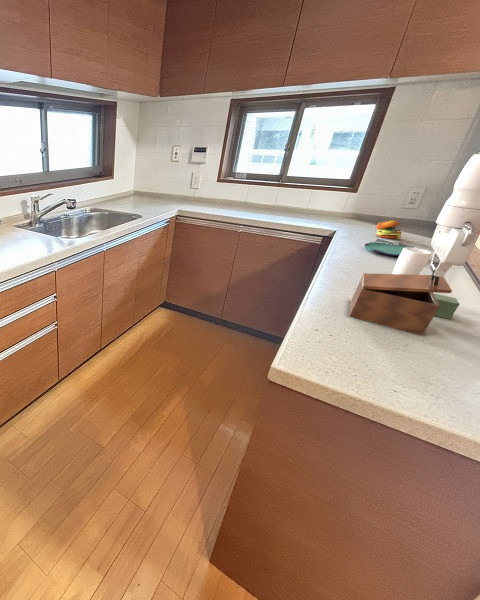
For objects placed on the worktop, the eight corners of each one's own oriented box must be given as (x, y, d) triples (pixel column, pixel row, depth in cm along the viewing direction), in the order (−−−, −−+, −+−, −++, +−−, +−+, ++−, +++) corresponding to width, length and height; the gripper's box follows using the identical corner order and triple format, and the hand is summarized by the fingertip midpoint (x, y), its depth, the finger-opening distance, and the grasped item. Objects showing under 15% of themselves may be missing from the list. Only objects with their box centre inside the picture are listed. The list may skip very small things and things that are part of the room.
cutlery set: (358, 251, 150) (360, 247, 149) (371, 240, 168) (373, 236, 167) (416, 263, 137) (419, 258, 136) (423, 250, 155) (426, 245, 154)
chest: (416, 317, 95) (432, 290, 91) (422, 335, 86) (439, 306, 82) (350, 301, 103) (362, 275, 99) (349, 316, 94) (362, 288, 90)
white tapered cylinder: (403, 290, 111) (426, 249, 104) (412, 298, 106) (436, 255, 99) (379, 287, 114) (399, 246, 107) (386, 294, 108) (408, 251, 101)
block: (447, 312, 98) (456, 298, 95) (450, 319, 94) (459, 304, 92) (424, 307, 100) (432, 293, 98) (426, 313, 97) (435, 298, 95)
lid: (442, 278, 89) (446, 259, 87) (451, 293, 80) (455, 272, 78) (362, 275, 99) (364, 258, 97) (362, 288, 90) (365, 270, 88)
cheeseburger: (395, 240, 168) (398, 221, 165) (370, 240, 177) (372, 221, 175) (404, 238, 172) (407, 219, 170) (379, 238, 181) (381, 219, 179)
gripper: (496, 229, 69) (461, 287, 75) (473, 214, 84) (445, 264, 90) (454, 224, 73) (424, 281, 79) (439, 210, 87) (414, 259, 93)
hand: (435, 272), depth 85 cm, fingers closed on lid, 5 cm apart
